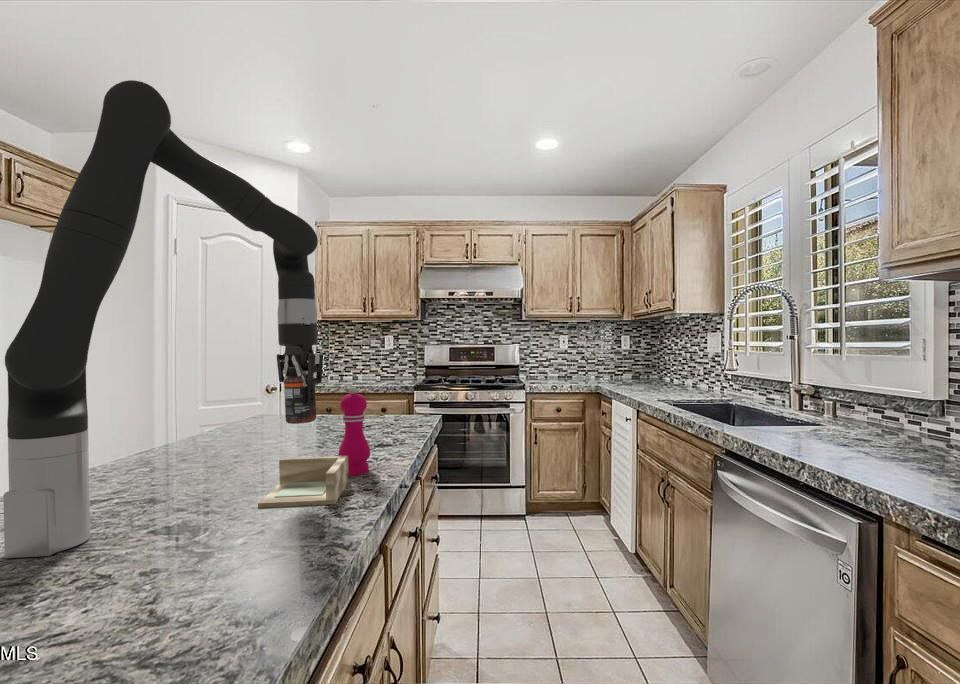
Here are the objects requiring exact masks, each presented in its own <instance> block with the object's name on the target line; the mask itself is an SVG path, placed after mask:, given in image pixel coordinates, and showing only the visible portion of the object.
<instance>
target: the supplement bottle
mask: <svg viewBox="0 0 960 684" xmlns="http://www.w3.org/2000/svg"><path fill="white" fill-rule="evenodd" d="M288 370H289V372H288V373H289V376H288V377H287V378H286V379H285V380H284V384H283V392H284V393H283V394H284V414H285V422H286V423H287V424H290V425H291V424H292V425H293V424H294V425H296V424H297V425H298V424H308V423H312V422H315V420H316V419H317V400H316V397H315V404H314V405H312V406H304V405H303V388H304V387H303V384H302V381H301V378H300V377H298V375H297V372H296V368H295V367H289V368H288ZM306 378H307V379H308V377H306Z"/></svg>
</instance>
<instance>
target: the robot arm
mask: <svg viewBox="0 0 960 684" xmlns="http://www.w3.org/2000/svg"><path fill="white" fill-rule="evenodd" d="M103 98H104V99H103V102H102V109H101V114H100V118H99V119H100V120H99V123H98V124H99V125H98V128H97V132H96V135H95V138H94V143H93V146H92V148H91V151H90V154H89V156H88V158H87V159H86V161H85V163H84V164H83V167H82V168H81V170H80V172H79V174H78V175H77V178H76V180H75V182H74V184H73V185H72V187H71V190H70V192H69V194H68V196H67V198H66V201H65V203H64V205H63V206H62V209H61V212H60V215H59V217H58V220H57V222H56V225H55V227H54V230H53V232H52V236H51V239H50V243H49V246H48V249H47V252H46V257H45V260H44V261H45V262H44V267H43V272H42V277H41V282H40V285H39V289H38V292H37V295H36V296H35V299H34V302H33V303H32V306H31V307H30V310H29V312H28V314H27V316H26V318H25V320H24V321H23V323H22V324H21V326H20V328H19V330H18V332H17V333H16V335H15V336H14V338H13V340H12V341H11V343H10V344H9V346H8V348H7V349H6V351H5V355H4V366H5V369H6V372H7V395H8V396H7V397H8V398H7V401H8V402H7V422H6V423H7V456H8V458H7V459H8V460H7V461H8V462H7V463H8V465H7V466H8V491H6V492H5V493H4V494H3V495H2V496H3V501H2V502H3V533H4V534H3V535H4V536H3V539H4V545H3V546H4V559H14V558H18V559H19V558H32V557H33V558H34V557H50V556H52V555H53V554H56V553H58V552H62V551H65V550H69V549H71V548H74V547H77V546H79V545H81V544H83V543H85V542H86V541H88V540H89V539H90V537H91V512H90V511H91V509H90V505H91V504H90V502H91V501H90V468H89V467H90V466H89V465H90V464H89V463H90V462H89V461H90V459H89V415H88V413H89V412H88V402H87V401H88V399H87V397H88V396H87V363H88V356H89V350H90V346H91V345H90V344H91V340H92V335H93V331H94V326H95V323H96V318H97V314H98V313H99V312H98V311H99V309H100V307H101V304H102V302H103V300H104V297H106V295H107V292H108V290H109V289H110V287H111V286H112V284H113V282H114V280H115V278H116V275H117V273H118V271H119V269H120V267H121V265H122V262H123V260H124V258H125V255H126V253H127V250H128V248H129V244H130V241H131V239H132V236H133V233H134V230H135V227H136V224H137V219H138V216H139V215H138V214H139V210H140V206H141V202H142V194H143V190H144V184H145V180H146V179H145V178H146V175H147V172H148V169H149V166H150V164H151V163H152V164H154V165H156V166H157V167H159V168H161V169H162V170H165V171H166V172H167V173H169V174H171V175H172V176H174V177H176V178H178V179H179V180H180V181H182V182H184V183H185V184H186V185H189V186H190V187H191V188H193V189H195V190H196V191H198V192H199V193H201V195H203V196H205V198H208V199H209V200H210V201H211V202H213V203H214V204H216V205H217V207H220V208H221V209H222V210H223V211H225V212H226V213H227V214H229V215H230V216H232V217H233V218H234V219H236V220H237V221H238V222H240V223H241V224H243V226H245V227H246V228H249V229H250V230H251V231H254V232H258V233H259V232H261V233H263V234H265V235H267V236H268V237H269V238H271V239H272V241H273V242H272V253H273V259H274V263H275V269H276V273H277V279H278V280H277V290H278V291H277V293H278V296H277V297H278V298H277V299H278V301H277V302H278V304H277V334H278V338H277V339H278V345H279V346H281V347H285V348H284V353H277V354H276V364H277V366H276V367H277V371H278V372H277V373H278V381H279V383H283V385H284V380H285V379H286V378H287V377H288V376H289V373H288V372H289V370H288V368H289V367H295V368H296V372H297V375H298V377H300V378H301V381H302V384H303V387H304V388H303V405H304V406H312V405H314V404H315V398H316V387H317V385H318V384H322V381H323V363H324V356H323V355H324V354H323V353H315V352H314V350H313V346H316V345H318V343H319V340H318V339H319V334H318V312H317V311H318V310H317V304H316V285H315V282H316V281H315V278H314V275H313V274H312V273H311V272H310V270H309V261H308V256H309V255H311V254H313V253H314V252H315V251H316V249H317V247H318V245H319V244H318V243H319V242H318V241H319V239H318V235H317V233H316V231H315V230H314V228H313V227H312V226H311V225H310V224H309V223H308V222H307V221H306V220H304V219H303V218H301V217H300V216H298V215H297V214H295V213H293V212H291V211H289V210H288V209H287V208H285V207H283V206H281V205H278V204H277V203H275V202H274V201H273V200H271V199H270V198H269V197H268V196H267V195H265V194H264V193H263V192H261V191H260V190H259V189H258V188H256V187H255V186H254V185H253V184H251V183H250V182H249V181H248V180H246V179H245V178H244V177H242V176H240V175H239V174H237V173H235V172H233V171H232V170H230V169H228V168H226V167H224V166H222V165H220V164H218V163H216V162H214V161H212V160H210V159H209V158H207V157H205V156H204V155H202V154H201V153H199V152H197V151H196V150H194V149H193V147H191V146H189V145H188V144H187V143H186V142H185V141H183V140H182V139H181V138H180V137H179V136H178V135H177V134H176V133H175V132H174V131H173V130H172V129H171V126H172V115H171V110H170V108H169V106H168V103H167V101H166V99H165V98H164V97H163V94H161V93H160V92H159V91H158V90H157V89H156V88H155V87H154V86H152V85H150V84H149V83H146V82H143V81H141V80H140V81H139V80H136V79H135V80H131V79H130V80H123V81H120V82H118V83H116V84H114V85H113V86H111V87H110V88H108V91H107V92H106V93H105V95H104V97H103ZM306 377H308V379H307V378H306Z"/></svg>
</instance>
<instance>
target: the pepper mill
mask: <svg viewBox="0 0 960 684" xmlns="http://www.w3.org/2000/svg"><path fill="white" fill-rule="evenodd" d="M357 392H358V389H357V387H355V386H352V387H351V386H350V388H349V393H347V394H345V395H344V396H343V397H342V399H340V403H339V404H340V405H339V407H340V410H341V411H342V412H343V413H344V414H343V415H342V421H343V422H344V428H345V429H344V435H343V438H342V440H341V443H340V445H339V450H338V455H337V456H348V477H350V476H351V477H352V476H362V475H365V474H367V473H368V472H369V468H370V467H369V463H368V462H367V461H368V459H369V458H370V456H371V449H370V444H369V443H368V441H367V438H366V436H365V434H364V428H363V427H364V421H365V420H366V418H365V416H366V414H365V413H364V412H365V410H366V409H367V405H368V404H367V399H366V397H365V396H364V395H362V394H360V393H357Z"/></svg>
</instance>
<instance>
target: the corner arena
mask: <svg viewBox="0 0 960 684" xmlns="http://www.w3.org/2000/svg"><path fill="white" fill-rule="evenodd" d="M278 461H279V462H278V463H279V464H278V467H279V469H278V470H279V472H278V473H279V484H277V485H276V486H275V487H274V488H273V489H272V490H271V491H270V492H269V493H267V494H266V495H265V496H264V497H263V498H262V499H261V500H259V501H258V502H257V508H260V509H261V508H276V507H299V506H301V507H302V506H320V505H335V504H336V503H337V501H338V499H339V498H340V497H341V495H342V494H343V492H344V490H345V489H346V488H347V485H348V484H349V477H350V476H348V456H338V455H332V456H331V455H328V456H325V455H324V456H323V455H322V456H305V457H302V456H301V457H281V458H280V459H278Z"/></svg>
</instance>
